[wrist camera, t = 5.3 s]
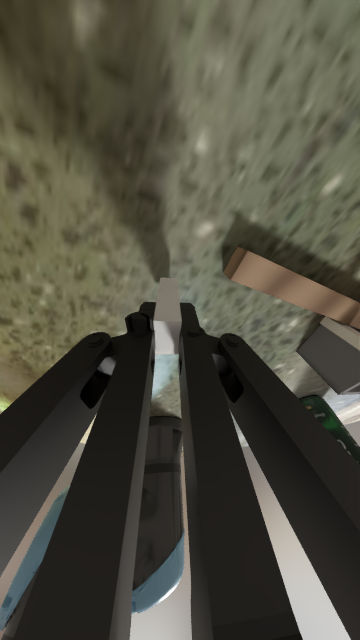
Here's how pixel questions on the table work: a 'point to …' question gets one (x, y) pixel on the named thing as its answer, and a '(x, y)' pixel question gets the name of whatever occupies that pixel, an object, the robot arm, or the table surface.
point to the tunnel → (335, 355)
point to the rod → (291, 287)
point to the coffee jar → (332, 424)
